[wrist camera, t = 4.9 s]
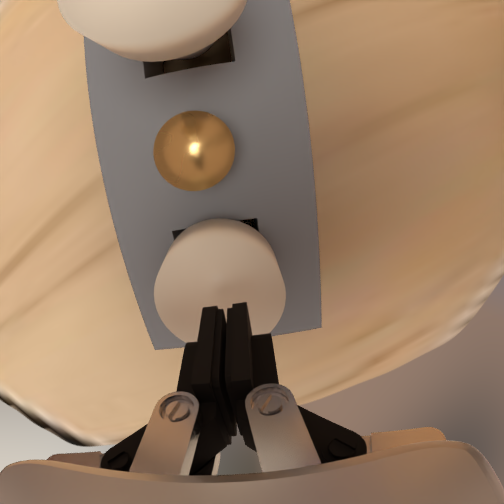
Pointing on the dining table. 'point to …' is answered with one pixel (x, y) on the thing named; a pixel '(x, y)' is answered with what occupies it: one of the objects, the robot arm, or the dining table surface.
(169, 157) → the brass ball
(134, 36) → the ivory knob
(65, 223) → the dining table surface
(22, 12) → the dining table surface
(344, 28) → the dining table surface
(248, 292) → the ivory knob
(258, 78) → the mount
